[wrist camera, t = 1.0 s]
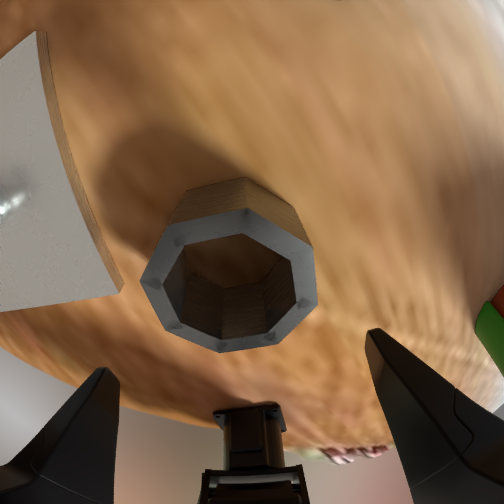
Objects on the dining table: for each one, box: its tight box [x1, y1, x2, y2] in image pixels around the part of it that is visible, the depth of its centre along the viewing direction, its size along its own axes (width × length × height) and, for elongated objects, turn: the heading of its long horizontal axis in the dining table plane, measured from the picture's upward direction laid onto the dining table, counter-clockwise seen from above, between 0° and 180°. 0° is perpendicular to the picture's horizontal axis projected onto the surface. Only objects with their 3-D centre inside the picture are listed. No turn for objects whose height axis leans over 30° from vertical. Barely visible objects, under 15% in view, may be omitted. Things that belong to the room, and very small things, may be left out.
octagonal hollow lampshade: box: [140, 177, 318, 353], centre depth 13 cm, size 7×7×4 cm
